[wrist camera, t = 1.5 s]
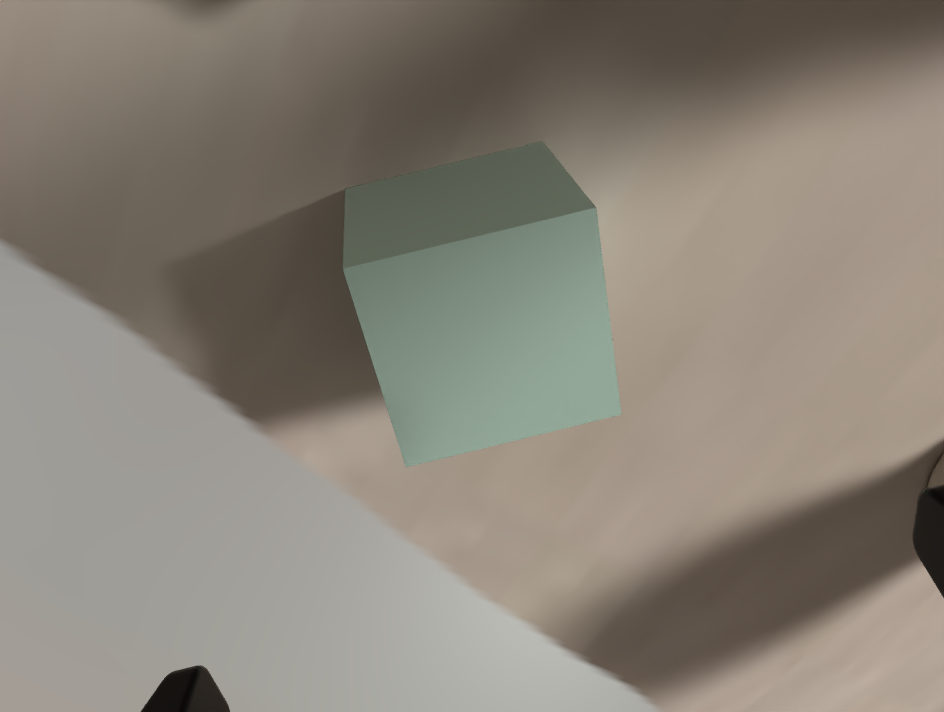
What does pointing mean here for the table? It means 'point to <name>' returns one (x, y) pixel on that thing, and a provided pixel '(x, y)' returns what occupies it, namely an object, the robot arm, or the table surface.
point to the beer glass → (937, 474)
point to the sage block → (481, 301)
